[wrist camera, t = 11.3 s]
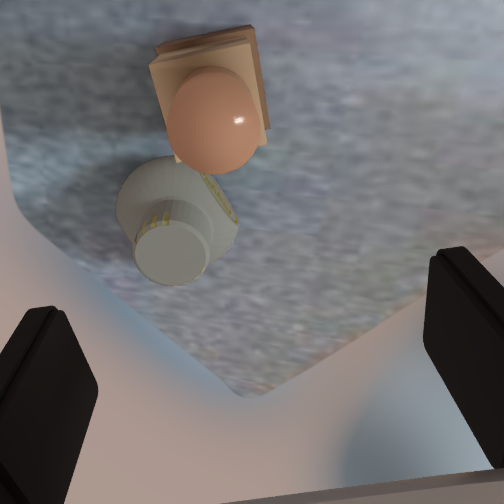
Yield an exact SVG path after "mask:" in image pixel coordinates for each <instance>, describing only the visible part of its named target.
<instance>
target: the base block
mask: <svg viewBox="0 0 504 504" xmlns="http://www.w3.org/2000/svg"><path fill="white" fill-rule="evenodd" d="M241 36H246V38H247V39H248V41H249V42H250V46H251V52H252V58H253V64H254V69H255V75H256V81H257V87H258V93H259V99H260V104H261V110H262V116H263V122H264V128H265V130H266V129H270V123H269V117H268V110H267V104H266V98H265V92H264V85H263V79H262V73H261V67H260V60H259V54H258V48H257V41H256V35H255V29H254V27H253V26H252V25H251V24H250V25H245V26H241V27H236V28H231V29H226V30H222V31H217V32H212V33H207V34H202V35H198V36H193V37H188V38H183V39H179V40H174V41H169V42H164V43H162V44H161V45H160V46H158V47H157V48H156V53H157V56H159V55H160V54H162V53H166V52H171V51H176V50H180V49H185V48H190V47H194V46H199V45H204V44H208V43H213V42H218V41H222V40H227V39H232V38H236V37H241Z"/></svg>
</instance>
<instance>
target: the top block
mask: <svg viewBox="0 0 504 504" xmlns="http://www.w3.org/2000/svg"><path fill="white" fill-rule="evenodd" d="M205 66H220V67H224V68H227V69H229V70H231V71H233V72H234V73H236V74H237V75H238V76H240V77H241V78H242V79H243V81H244V82H245V83H246V85H247V86H248V88H249V90H250V93H251V96H252V98H253V101H254V104H255V107H256V109H257V112H258V115H259V119H260V127H261V129H260V138H259V142H258V145H257V147H258V146H263V145H267V139H266V134H265V128H264V122H263V116H262V110H261V104H260V99H259V93H258V87H257V81H256V75H255V69H254V64H253V58H252V52H251V46H250V42H249V41H248V39H247V38H246V36H241V37H236V38H232V39H227V40H222V41H218V42H213V43H208V44H204V45H199V46H194V47H190V48H185V49H180V50H176V51H171V52H166V53H162V54H160V55H159V56H158V57H157V58H156V59H154V60H153V61H152V62H151V63H150V64H149V69H150V72H151V76H152V79H153V83H154V86H155V89H156V93H157V96H158V100H159V103H160V107H161V110H162V114H163V117H164V121H165V124H166V128H167V117H168V113H169V110H170V107H171V105H172V102H173V100H174V97H175V94H176V92H177V89H178V87H179V85H180V84H181V82H182V81H183V80H184V78H185V77H186V76H187V75H189V74H190V73H191V72H193V71H194V70H196V69H199V68H202V67H205ZM173 152H174V151H173ZM174 156H175V159H176V162H177V163H179V162H182V161H181V160H180V159H179V158H178V157H177V155H176V154H175V153H174Z"/></svg>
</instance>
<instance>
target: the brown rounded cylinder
mask: <svg viewBox="0 0 504 504" xmlns="http://www.w3.org/2000/svg"><path fill="white" fill-rule="evenodd" d="M260 129H261V127H260V119H259V115H258V112H257V109H256V107H255V104H254V101H253V98H252V96H251V93H250V90H249V88H248V86H247V85H246V83H245V82H244V81H243V79H242V78H241V77H240V76H238V75H237V74H236V73H234V72H233V71H231V70H229V69H227V68H224V67H220V66H205V67H202V68H199V69H196V70H194V71H193V72H191V73H190V74H189V75H187V76H186V77H185V78H184V80H183V81H182V82H181V84H180V85H179V87H178V89H177V92H176V94H175V97H174V100H173V102H172V105H171V107H170V110H169V113H168V117H167V135H168V140H169V143H170V145H171V147H172V149H173V151H174V153H175V154H176V155H177V157H178V158H179V159H180V160H181V161H182V162H183V163H184V164H186V165H187V166H188V167H190V168H192V169H194V170H196V171H198V172H201V173H205V174H224V173H228V172H231V171H234V170H236V169H237V168H239V167H241V166H242V165H243V164H245V163H246V162H247V161H248V160H249V159H250V157H251V156H252V155H253V153H254V152H255V150H256V147H257V145H258V142H259V138H260Z"/></svg>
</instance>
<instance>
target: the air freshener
mask: <svg viewBox="0 0 504 504" xmlns="http://www.w3.org/2000/svg"><path fill="white" fill-rule="evenodd" d="M116 216H117V219H118V221H119V224H120V226H121V228H122V229H123V231H124V233H125V234H126V236H127V237H128V239H129V240H130V241H131V243H132V244H133V246H132V256H133V260H134V263H135V265H136V267H137V268H138V270H139V271H140V272H141V273H142V274H143V275H144V276H145V277H146V278H148V279H149V280H151V281H153V282H155V283H158V284H161V285H166V286H181V285H185V284H186V283H189V282H190V283H191V282H193V281H195V280H196V278H198V277H199V276H201V275H202V274H203V273H204V270H205V268H207V266H208V265H210V264H212V263H213V262H215V261H217V260H218V259H219V258H220V257H222V256H223V255H224V254H225V253H226V251H227V250H228V249H229V248H230V246H231V245H232V243H233V242H234V240H235V237H236V235H237V233H238V228H239V221H238V218H237V216H236V214H235V212H234V210H233V208H232V206H231V204H230V202H229V201H228V199H227V197H226V196H225V194H224V193H223V191H222V189H221V188H220V186H219V185H218V184H217V182H216V181H215V179H214V178H213V177H212V175H211V174H205V173H201V172H198V171H196V170H194V169H192V168H190V167H188V166H187V165H186V164H184V163H183V162H179V163H177V162H176V159H175V156H164V157H160V158H156V159H153V160H151V161H148V162H146V163H144V164H143V165H141V166H140V167H138V168H137V169H136V170H134V171H133V172H132V173H131V174H130V175H129V176H128V178H127V179H126V180H125V182H124V183H123V185H122V187H121V189H120V191H119V193H118V197H117V201H116Z"/></svg>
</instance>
